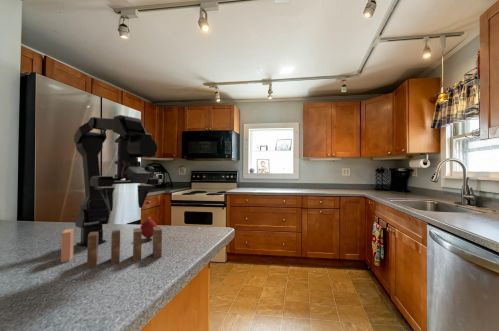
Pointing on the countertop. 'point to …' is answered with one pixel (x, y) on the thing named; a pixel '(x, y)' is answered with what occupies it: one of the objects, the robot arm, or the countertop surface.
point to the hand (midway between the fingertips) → (126, 209)
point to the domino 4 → (157, 242)
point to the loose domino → (67, 245)
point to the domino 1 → (92, 249)
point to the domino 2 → (115, 246)
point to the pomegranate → (148, 228)
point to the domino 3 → (137, 244)
